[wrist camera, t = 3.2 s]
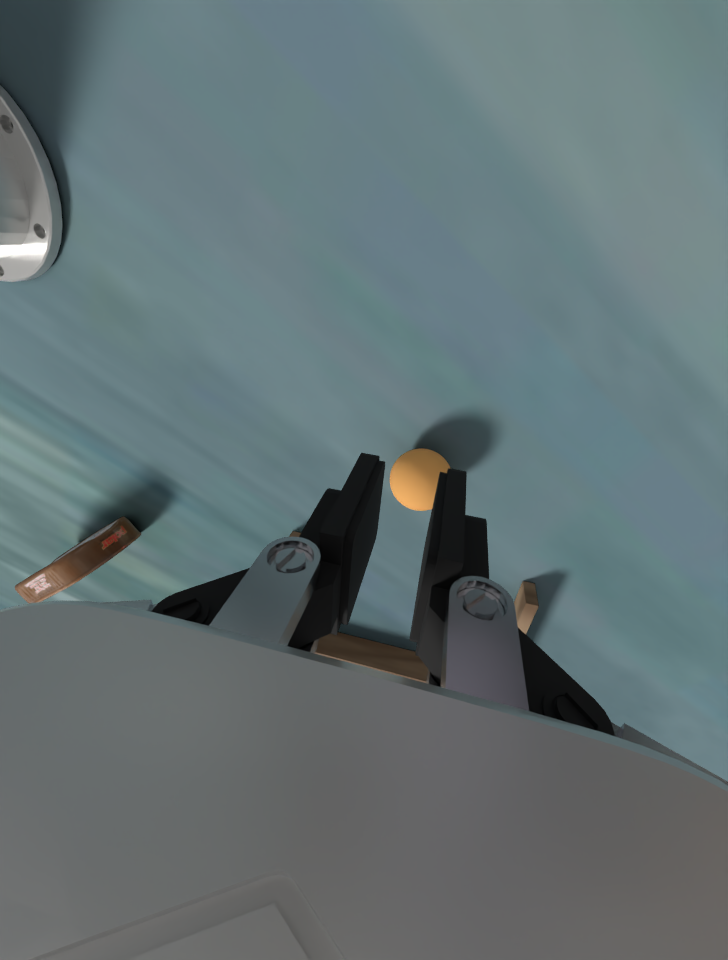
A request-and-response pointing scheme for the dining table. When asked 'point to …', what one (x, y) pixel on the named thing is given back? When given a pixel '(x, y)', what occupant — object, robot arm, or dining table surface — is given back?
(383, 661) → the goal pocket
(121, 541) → the tin
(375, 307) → the dining table surface
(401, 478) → the ball
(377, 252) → the dining table surface
